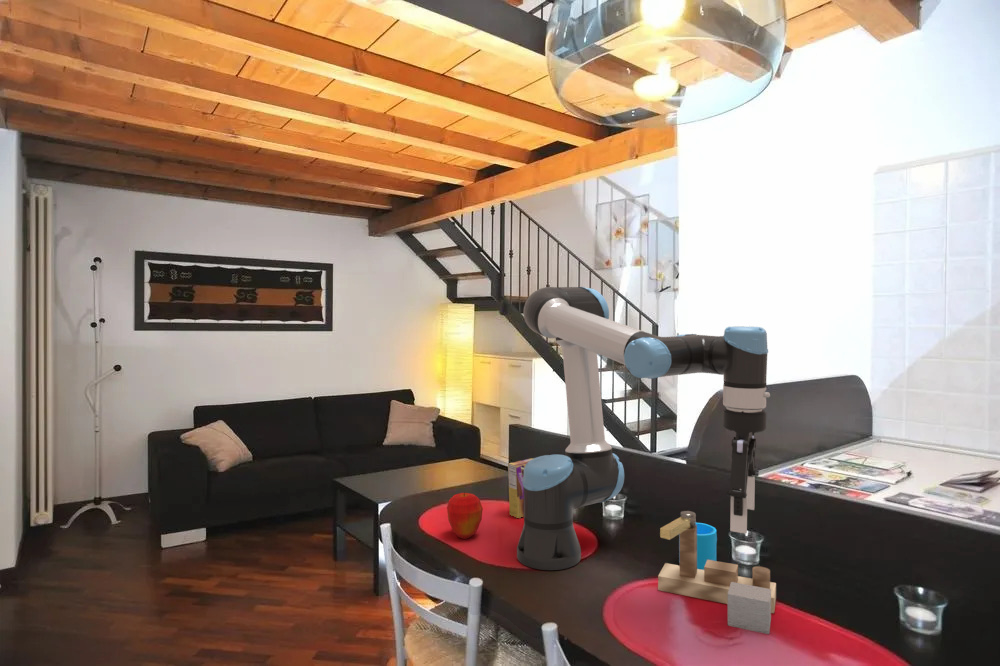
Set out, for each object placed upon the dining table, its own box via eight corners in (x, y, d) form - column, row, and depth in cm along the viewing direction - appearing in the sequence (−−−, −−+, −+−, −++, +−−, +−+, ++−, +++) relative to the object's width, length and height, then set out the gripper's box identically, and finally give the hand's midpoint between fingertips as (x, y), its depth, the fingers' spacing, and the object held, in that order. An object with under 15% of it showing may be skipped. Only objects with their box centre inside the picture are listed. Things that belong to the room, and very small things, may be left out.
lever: (684, 521, 126) (684, 510, 126) (698, 524, 124) (698, 513, 124) (658, 536, 118) (657, 524, 118) (672, 540, 116) (671, 528, 116)
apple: (489, 535, 156) (489, 489, 155) (465, 545, 149) (464, 498, 149) (464, 527, 162) (464, 483, 161) (440, 536, 155) (439, 491, 155)
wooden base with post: (658, 590, 124) (657, 527, 123) (665, 576, 130) (665, 517, 130) (774, 613, 114) (774, 545, 113) (776, 597, 120) (776, 533, 119)
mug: (704, 574, 131) (704, 538, 130) (672, 563, 137) (672, 528, 137) (731, 559, 139) (731, 524, 138) (699, 549, 145) (699, 516, 144)
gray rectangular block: (727, 625, 110) (727, 593, 109) (731, 612, 115) (731, 581, 114) (769, 634, 106) (769, 602, 106) (770, 620, 111) (770, 589, 111)
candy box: (532, 508, 176) (531, 457, 176) (541, 512, 173) (540, 460, 172) (508, 515, 171) (507, 462, 170) (517, 519, 167) (516, 465, 167)
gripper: (760, 422, 99) (758, 547, 100) (771, 400, 121) (769, 502, 122) (713, 418, 102) (711, 538, 104) (732, 397, 124) (730, 497, 125)
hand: (742, 519), depth 113 cm, fingers open, 13 cm apart
